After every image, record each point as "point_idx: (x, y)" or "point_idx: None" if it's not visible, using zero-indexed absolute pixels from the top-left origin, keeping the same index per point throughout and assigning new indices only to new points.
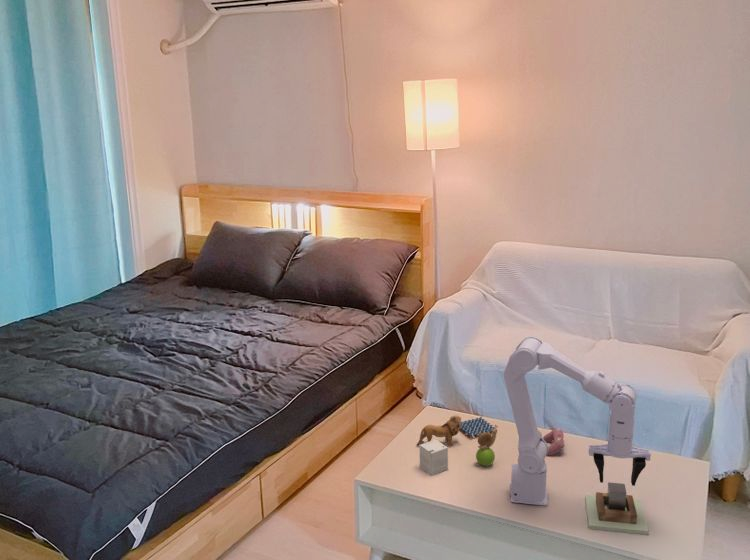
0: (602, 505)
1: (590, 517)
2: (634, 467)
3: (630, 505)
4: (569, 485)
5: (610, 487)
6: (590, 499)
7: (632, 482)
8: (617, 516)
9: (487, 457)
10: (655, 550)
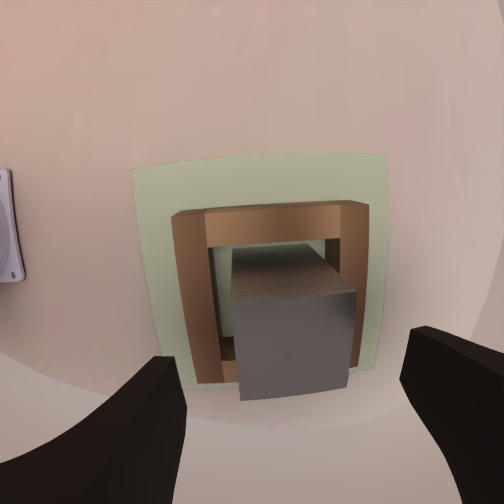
0: (208, 339)
1: (168, 347)
2: (478, 490)
3: None
4: (80, 93)
5: (246, 367)
6: (156, 208)
7: (410, 402)
8: None
9: None
10: (366, 412)
